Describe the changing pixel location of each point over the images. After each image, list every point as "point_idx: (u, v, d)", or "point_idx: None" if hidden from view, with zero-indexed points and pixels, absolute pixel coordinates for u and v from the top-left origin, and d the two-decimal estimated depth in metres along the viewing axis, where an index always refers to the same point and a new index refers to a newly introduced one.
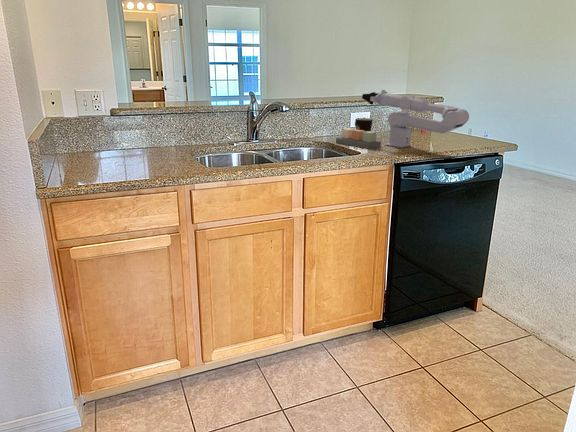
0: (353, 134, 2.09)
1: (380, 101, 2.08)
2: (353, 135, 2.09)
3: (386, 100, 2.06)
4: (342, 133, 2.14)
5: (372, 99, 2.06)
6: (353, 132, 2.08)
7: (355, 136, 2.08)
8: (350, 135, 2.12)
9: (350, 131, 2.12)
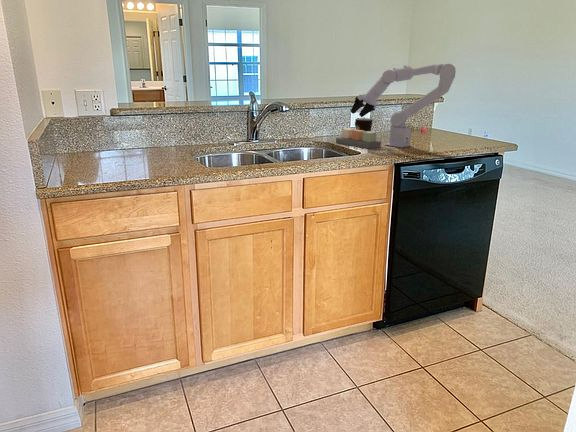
0: (353, 134, 2.09)
1: (368, 98, 2.05)
2: (353, 135, 2.09)
3: (372, 91, 2.04)
4: (342, 133, 2.14)
5: (360, 96, 2.03)
6: (353, 132, 2.08)
7: (355, 136, 2.08)
8: (350, 135, 2.12)
9: (350, 131, 2.12)
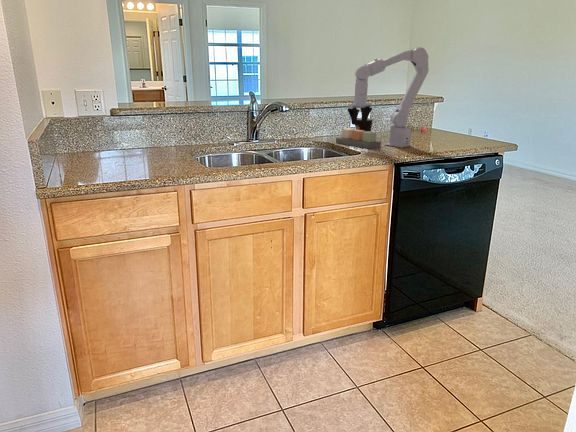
0: (353, 134, 2.09)
1: (358, 102, 2.02)
2: (353, 135, 2.09)
3: (357, 94, 2.01)
4: (342, 133, 2.14)
5: (350, 105, 2.00)
6: (353, 132, 2.08)
7: (355, 136, 2.08)
8: (350, 135, 2.12)
9: (350, 131, 2.12)
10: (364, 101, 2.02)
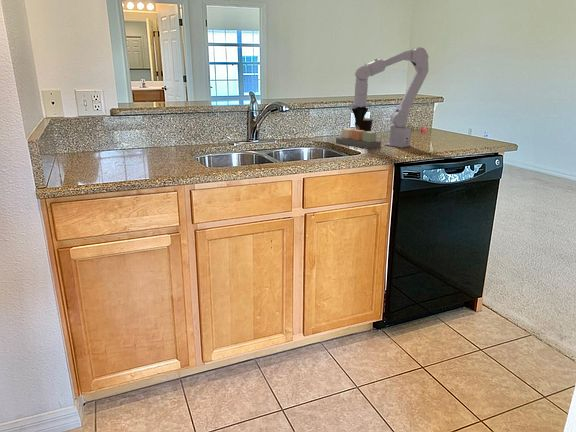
0: (353, 134, 2.09)
1: (358, 102, 2.02)
2: (353, 135, 2.09)
3: (357, 94, 2.01)
4: (342, 133, 2.14)
5: (350, 105, 2.00)
6: (353, 132, 2.08)
7: (355, 136, 2.08)
8: (350, 135, 2.12)
9: (350, 131, 2.12)
10: (364, 101, 2.02)
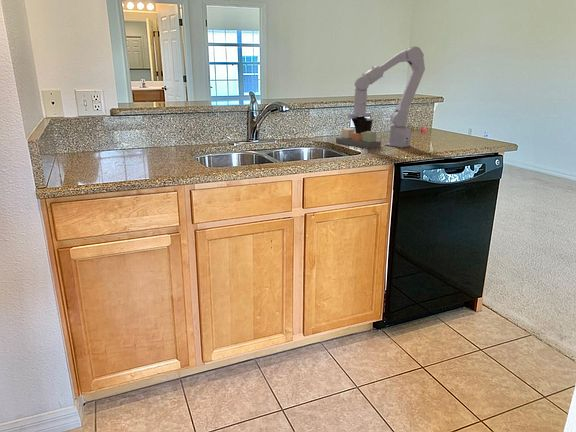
0: (353, 137, 2.09)
1: (358, 112, 2.03)
2: (353, 138, 2.09)
3: (356, 104, 2.03)
4: (342, 133, 2.14)
5: (349, 115, 2.02)
6: (353, 135, 2.09)
7: (355, 139, 2.09)
8: (350, 135, 2.12)
9: (350, 131, 2.12)
10: (363, 111, 2.03)
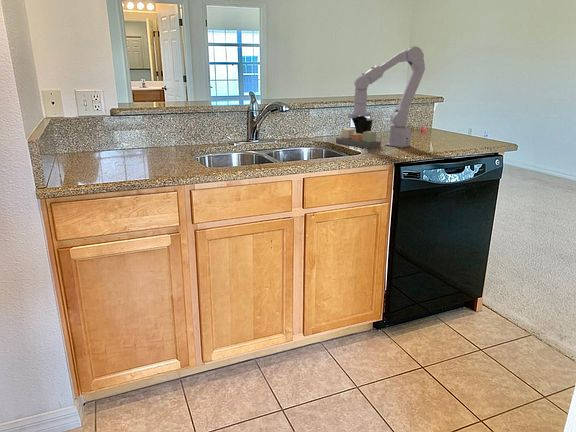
0: (353, 138, 2.09)
1: (358, 112, 2.03)
2: (353, 139, 2.09)
3: (357, 104, 2.03)
4: (342, 133, 2.14)
5: (349, 115, 2.02)
6: (353, 136, 2.09)
7: None
8: (350, 135, 2.12)
9: (350, 131, 2.12)
10: (363, 111, 2.03)
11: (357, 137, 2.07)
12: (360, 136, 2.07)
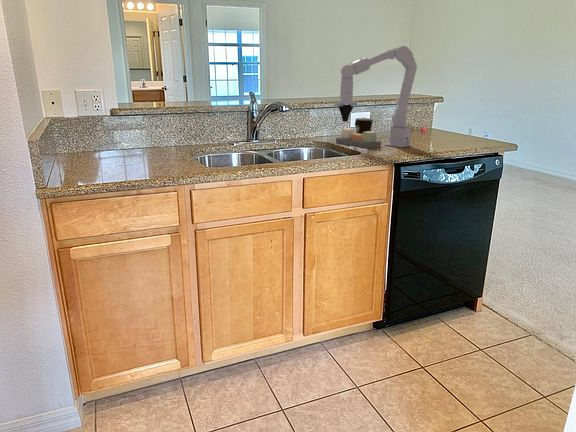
0: (353, 138, 2.09)
1: (344, 100, 2.05)
2: (353, 139, 2.09)
3: (343, 92, 2.05)
4: (342, 133, 2.14)
5: (335, 103, 2.04)
6: (353, 136, 2.09)
7: None
8: (350, 135, 2.12)
9: (350, 131, 2.12)
10: (349, 99, 2.05)
11: (357, 137, 2.07)
12: (360, 136, 2.07)
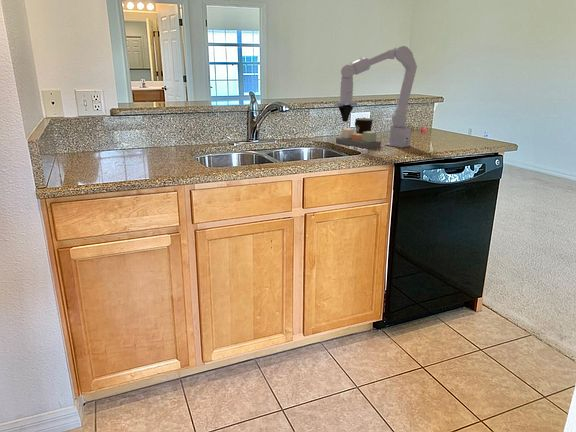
0: (353, 138, 2.09)
1: (344, 100, 2.05)
2: (353, 139, 2.09)
3: (343, 92, 2.05)
4: (342, 133, 2.14)
5: (335, 103, 2.04)
6: (353, 136, 2.09)
7: None
8: (350, 135, 2.12)
9: (350, 131, 2.12)
10: (349, 99, 2.05)
11: (357, 137, 2.07)
12: (360, 136, 2.07)
